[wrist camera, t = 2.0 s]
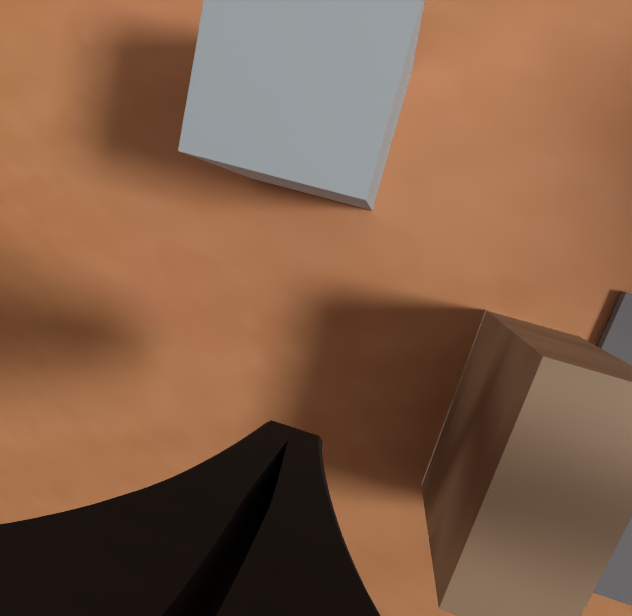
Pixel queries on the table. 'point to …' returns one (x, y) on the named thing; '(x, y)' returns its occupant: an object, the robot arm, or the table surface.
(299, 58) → the grey block
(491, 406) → the walnut block
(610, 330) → the mat
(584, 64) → the table surface
